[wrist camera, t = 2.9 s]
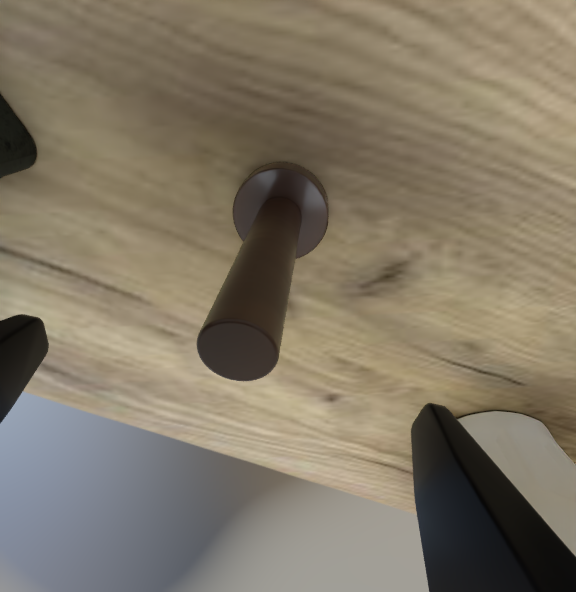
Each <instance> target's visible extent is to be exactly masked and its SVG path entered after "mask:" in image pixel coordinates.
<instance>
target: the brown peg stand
mask: <svg viewBox="0 0 576 592" xmlns="http://www.w3.org/2000/svg"><path fill="white" fill-rule="evenodd" d="M328 217H329V216H328V200H327V196H326V193H325V190H324V188H323V186H322V185H321V183H320V182H319V180H318V179H317V178H316V177H315V176H314V175H313V174H312V173H311V172H309V171H308V170H306V169H305V168H303V167H301V166H299V165H296V164H292V163H287V162H277V163H271V164H267V165H264V166H262V167H260V168H258V169H257V170H255V171H254V172H253V173H252V174H251V175H250V176H249V177H248V178H247V179H246V180H245V182H244V183H243V184H242V186H241V187H240V189H239V190H238V192H237V194H236V197H235V200H234V205H233V219H234V224H235V227H236V230H237V232H238V234H239V236H240V237H241V239H242V240H243V244H242V246H241V248H240V250H239V253H238V255H237V257H236V259H235V261H234V263H233V265H232V267H231V269H230V271H229V273H228V275H227V277H226V279H225V281H224V283H223V285H222V287H221V289H220V292H219V294H218V296H217V298H216V300H215V302H214V304H213V306H212V308H211V310H210V312H209V314H208V316H207V318H206V320H205V322H204V324H203V326H202V328H201V331H200V333H199V335H198V338H197V350H198V353H199V356H200V358H201V360H202V361H203V363H204V364H205V365H206V366H207V367H208V368H209V369H210V370H212V371H213V372H214V373H216V374H218V375H220V376H222V377H225V378H227V379H231V380H236V381H252V380H256V379H259V378H262V377H264V376H266V375H267V374H268V373H270V372H271V371H272V370H273V368H274V367H275V366H276V364H277V361H278V358H279V352H280V346H281V340H282V334H283V328H284V322H285V317H286V311H287V305H288V299H289V293H290V287H291V281H292V275H293V269H294V263H295V259H297V258H300V257H302V256H304V255H306V254H308V253H309V252H311V251H312V250H313V249H314V248H315V247H316V246H317V245H318V244H319V243H320V241H321V240H322V238H323V237H324V235H325V232H326V229H327V225H328Z"/></svg>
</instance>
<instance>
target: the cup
mask: <svg viewBox="0 0 576 592" xmlns="http://www.w3.org/2000/svg"><path fill="white" fill-rule="evenodd" d="M457 420H458V421H459V422H460V423H461V425H462V426H463V427H464V428H465V429H466V430H467V431H468V433H469V434H470V435H471V436H472V437H473V438H474V440H475V441H476V442H477V443H478V444H479V445H480V446H481V448H482V449H483V450H484V451H485V452H486V453H487V455H488V456H489V457H490V458H491V459H492V460H493V462H494V463H495V464H496V465H497V466H498V467H499V468H500V470H501V471H502V472H503V473H504V474H505V475H506V477H507V478H508V479H509V480H510V481H511V482H512V484H513V485H514V486H515V487H516V488H517V489H518V490H519V492H520V493H521V494H522V495H523V496H524V497H525V499H526V500H527V501H528V502H529V503H530V504H531V505H532V507H533V508H534V509H535V510H536V511H537V512H538V514H539V515H540V516H541V517H542V518H543V519H544V521H545V522H546V523H547V524H548V525H549V526H550V527H551V529H552V530H553V531H554V532H555V533H556V534H557V536H558V537H559V538H560V539H561V540H562V541H563V543H564V544H565V545H566V546H567V547H568V548H569V549H570V551H571V552H572V553H573V554H574V555H575V556H576V464H575V463H574V462H573V461H572V460H571V459H570V458H569V457H568V455H567V454H566V453H565V452H564V451H563V450H562V449H561V447H560V446H559V445H558V444H557V443H556V441H555V440H554V438H553V436H552V435H551V433H550V432H549V430H548V429H547V428H546V426H545V425H544V424H543V423H542V422H541V421H538V420H536V419H534V418H531V417H529V416H526V415H523V414H519V413H511V412H500V411H491V412H484V413H477V414H472V415H468V416H465V417H462V418H459V419H457Z"/></svg>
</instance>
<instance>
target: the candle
mask: <svg viewBox="0 0 576 592" xmlns="http://www.w3.org/2000/svg"><path fill="white" fill-rule="evenodd" d="M35 158H36V150H35V145H34V143H33V140H32V138H31V137H30V135H29V133H28V132H27V131H26V129H25V128H24V126H23V125H22V124H21V122H20V121H19V120H18V118H17V117H16V115H15V114H14V113H13V111H12V110H11V109H10V107H9V106H8V105H7V103H6V102H5V100H4V99H3V98H2V96H1V95H0V178H2V177H3V176H6V175H9V174H12V173H15V172H18V171H21V170H24V169H27V168H29V167H30V166H32V165H33V163H34V161H35Z"/></svg>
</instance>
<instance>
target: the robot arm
mask: <svg viewBox="0 0 576 592" xmlns="http://www.w3.org/2000/svg"><path fill="white" fill-rule="evenodd" d="M48 348H49V343H48V339H47V335H46V331H45V327H44V323H43V321H42V320H41V319H40V318H38V317H33V316H29V315H23V314H21V315H16V316H13V317H10V318H8V319H5V320H2V321H0V423H1V422H2V420H3V419H4V418H5V417H6V415H7V414H8V412H9V411H10V410H11V408H12V407H13V405H14V404H15V402H16V401H17V399H18V397H19V396H20V395H21V393H22V391H23V390H24V388H25V387H26V385H27V384H28V382H29V381H30V379H31V378H32V376H33V374H34V373H35V371H36V370H37V368H38V367H39V365H40V364H41V362H42V360H43V359H44V357H45V356H46V354H47V352H48ZM411 442H412V461H413V479H414V494H415V503H416V511H417V517H418V522H419V529H420V536H421V542H422V548H423V555H424V561H425V567H426V574H427V580H428V586H429V592H576V556H575V555H574V554H573V553H572V552H571V551H570V549H569V548H568V547H567V546H566V545H565V544H564V543H563V541H562V540H561V539H560V538H559V537H558V536H557V534H556V533H555V532H554V531H553V530H552V529H551V527H550V526H549V525H548V524H547V523H546V522H545V521H544V519H543V518H542V517H541V516H540V515H539V514H538V512H537V511H536V510H535V509H534V508H533V507H532V505H531V504H530V503H529V502H528V501H527V500H526V499H525V497H524V496H523V495H522V494H521V493H520V492H519V490H518V489H517V488H516V487H515V486H514V485H513V484H512V482H511V481H510V480H509V479H508V478H507V477H506V475H505V474H504V473H503V472H502V471H501V470H500V468H499V467H498V466H497V465H496V464H495V463H494V462H493V460H492V459H491V458H490V457H489V456H488V455H487V453H486V452H485V451H484V450H483V449H482V448H481V446H480V445H479V444H478V443H477V442H476V441H475V440H474V438H473V437H472V436H471V435H470V434H469V433H468V431H467V430H466V429H465V428H464V427H463V426H462V425H461V423H460V422H459V421H458V420H457V419H456V418H455V416H454V415H453V414H452V413H451V412H450V411H449V410H448V409H447V408H446V407H445V406H441V405H437V404H432V403H428V404H426V405H425V406H424V407H423V409H422V410H421V412H420V413H419V415H418V416H417V418H416V419H415V421H414V423H413V425H412V428H411Z"/></svg>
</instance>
